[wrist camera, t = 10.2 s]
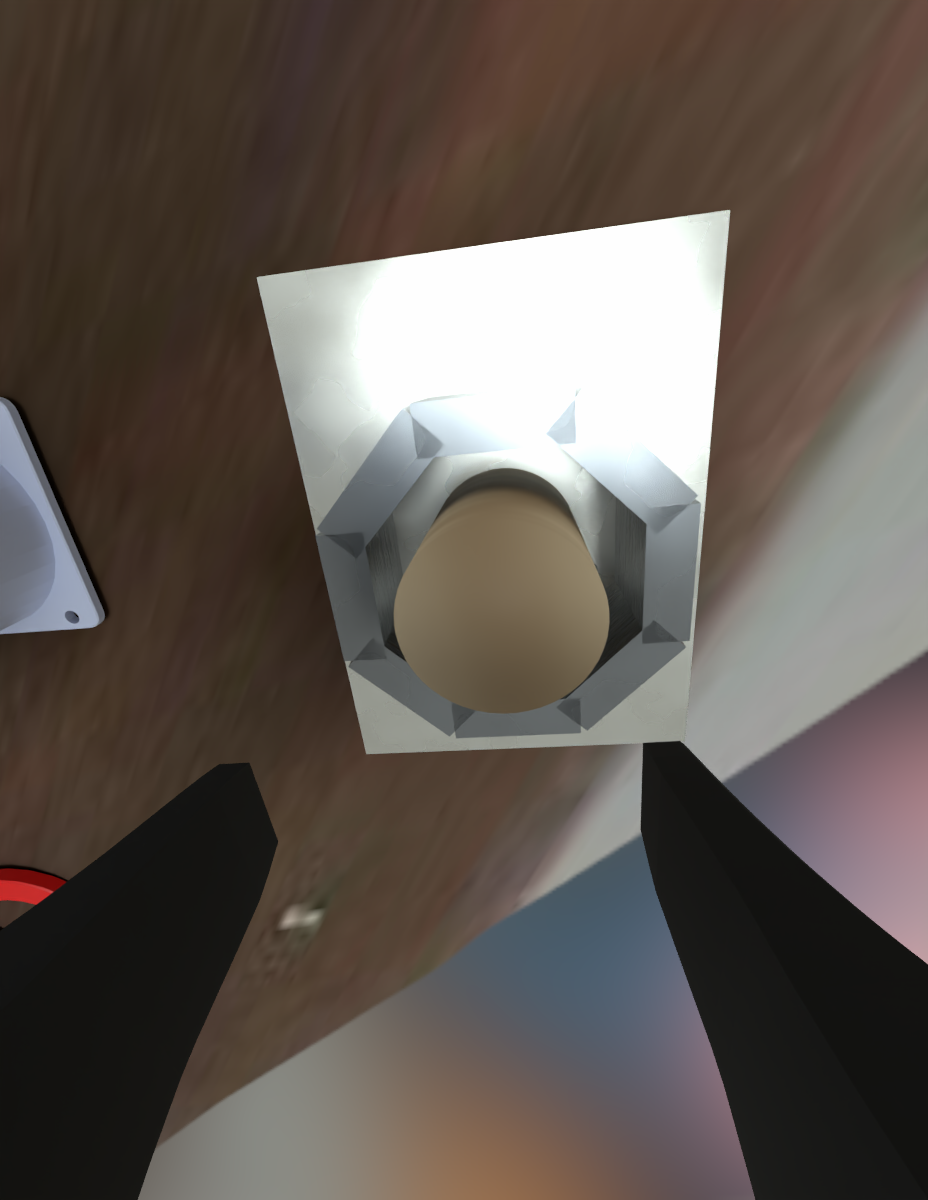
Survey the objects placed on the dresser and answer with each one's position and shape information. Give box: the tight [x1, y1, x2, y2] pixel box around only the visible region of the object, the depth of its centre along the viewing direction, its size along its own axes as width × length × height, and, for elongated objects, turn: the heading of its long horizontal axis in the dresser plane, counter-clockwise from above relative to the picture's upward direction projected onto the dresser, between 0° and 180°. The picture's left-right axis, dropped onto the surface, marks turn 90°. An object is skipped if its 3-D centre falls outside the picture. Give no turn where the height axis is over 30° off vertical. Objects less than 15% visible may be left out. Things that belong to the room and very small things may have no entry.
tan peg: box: [394, 468, 609, 714], centre depth 13 cm, size 4×4×6 cm
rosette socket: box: [257, 210, 730, 754], centre depth 15 cm, size 12×16×4 cm
